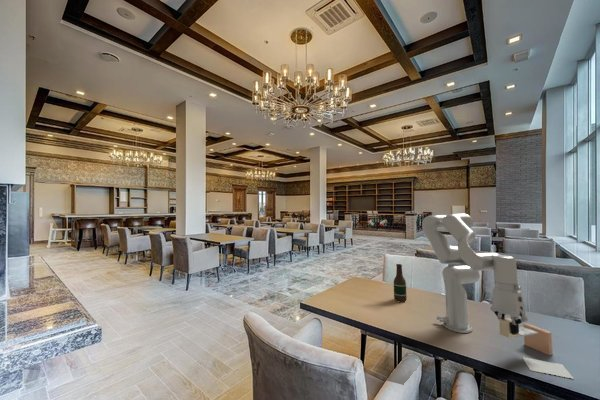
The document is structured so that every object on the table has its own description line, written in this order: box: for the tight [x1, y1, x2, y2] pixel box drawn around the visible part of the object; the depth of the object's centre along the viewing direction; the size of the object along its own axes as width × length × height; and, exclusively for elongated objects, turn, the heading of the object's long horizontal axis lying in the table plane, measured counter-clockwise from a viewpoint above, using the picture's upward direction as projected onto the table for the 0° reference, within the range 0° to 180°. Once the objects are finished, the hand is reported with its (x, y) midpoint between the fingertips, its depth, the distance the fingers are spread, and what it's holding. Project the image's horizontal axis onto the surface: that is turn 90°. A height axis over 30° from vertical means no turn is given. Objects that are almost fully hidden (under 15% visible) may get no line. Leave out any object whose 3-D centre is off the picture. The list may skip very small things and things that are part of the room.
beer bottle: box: [393, 263, 408, 303], centre depth 170 cm, size 8×8×24 cm
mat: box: [522, 356, 575, 380], centre depth 97 cm, size 12×9×1 cm
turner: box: [498, 317, 538, 339], centre depth 105 cm, size 16×6×6 cm, turn 108°
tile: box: [523, 322, 554, 356], centre depth 110 cm, size 2×9×9 cm, turn 18°
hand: (509, 331), depth 104 cm, fingers closed on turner, 3 cm apart
